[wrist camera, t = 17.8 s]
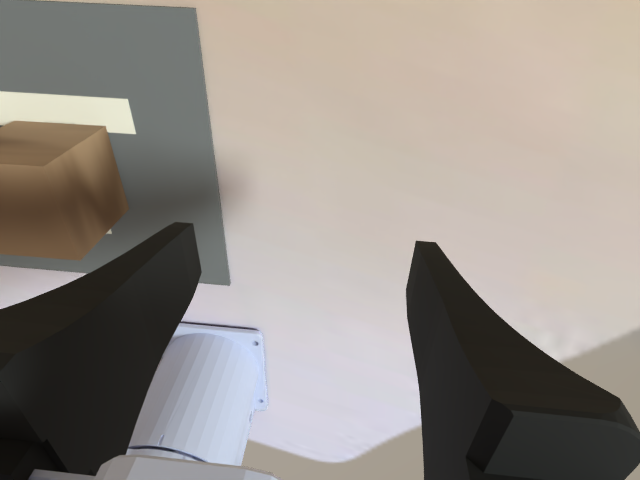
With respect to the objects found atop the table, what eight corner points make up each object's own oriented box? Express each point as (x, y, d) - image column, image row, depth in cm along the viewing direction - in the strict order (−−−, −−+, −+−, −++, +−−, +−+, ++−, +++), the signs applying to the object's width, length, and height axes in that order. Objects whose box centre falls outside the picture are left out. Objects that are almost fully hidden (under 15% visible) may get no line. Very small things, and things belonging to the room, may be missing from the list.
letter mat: (230, 283, 27) (229, 286, 27) (2, 263, 28) (-1, 266, 28) (195, 7, 18) (193, 8, 18) (-142, -8, 19) (-149, -8, 19)
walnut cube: (129, 208, 24) (80, 260, 20) (48, 203, 24) (-16, 252, 20) (105, 126, 21) (43, 166, 17) (14, 120, 22) (-68, 159, 17)
